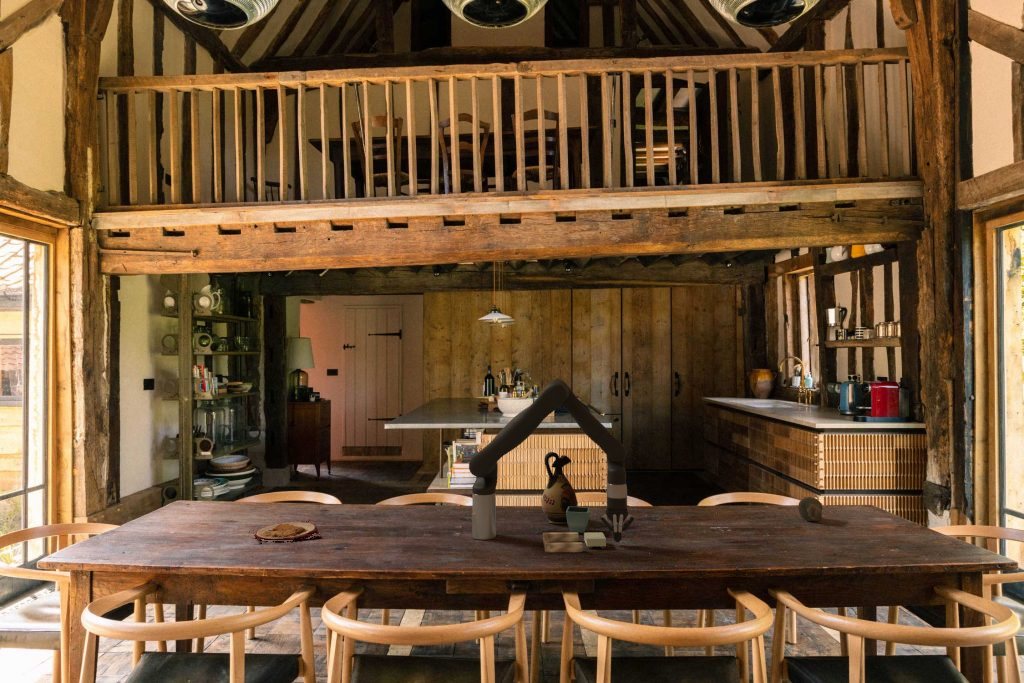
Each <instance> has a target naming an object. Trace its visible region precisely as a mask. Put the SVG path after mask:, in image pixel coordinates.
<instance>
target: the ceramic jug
mask: <svg viewBox="0 0 1024 683" xmlns="http://www.w3.org/2000/svg"><path fill="white" fill-rule="evenodd" d="M550 458H555V459H554V461H553V462H552V464H551V466H550ZM570 463H572V459H570V457H568V455H564V454H562V455H561V456H560V455H559V454H558V453H557V452H553V451H549V452H547V453H546V454H545V456H544V466H545V469H546V472H547V474H548V483H547V484H546V486H545V488H544V491H543V492H542V493H543V494H542V496H541V510H542V512H543V513H544V515H545V516H546V517H547V519H548V522H549V523H550V524H558V525H568V523H567V515H566V511H567V509H568V507H578V498H577V494H576V491H575V489H574V487H573V486H572V484H571V483H570V481H569V479H568V478H567V477H566V475H565V473H564V470H563V468H564V467H565V466H566V465H568V464H570ZM551 468H554V472H552V469H551Z"/></svg>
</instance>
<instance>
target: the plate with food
mask: <svg viewBox="0 0 1024 683" xmlns="http://www.w3.org/2000/svg"><path fill="white" fill-rule="evenodd" d="M305 521H306V522H305ZM305 521H291V522H289V521H288V522H284V523H283V522H280V523H274V524H270V525H268V526H265V527H263V528H259V529H260V530H258V529H257V530H256V531H255V532H256V534H255V535H254V534H253V536H255V537H257V538H255V539H256V540H257V541H260V539H264V540H294V539H298V538H299V539H301V540H304V539H306V538H308V537H310V536H313V535H312V534H314V533H316V534H319V535H320V536H315V537H313V538H312V539H316V538H320V537H321V536H322V534H321V533H320V532H319V530H318V528H317V525H316V524H315V523H308V522H309V521H310V522H311V520H309V519H308V522H307V520H305ZM304 522H305V523H304ZM268 530H272V532H269V531H268ZM265 531H268V532H266V533H264V532H265ZM263 533H264V534H263ZM297 534H300V535H297ZM273 537H278V538H273ZM279 537H281V538H279ZM285 537H287V538H285ZM303 538H304V539H303Z"/></svg>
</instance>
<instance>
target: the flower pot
mask: <svg viewBox="0 0 1024 683" xmlns="http://www.w3.org/2000/svg"><path fill="white" fill-rule="evenodd" d="M566 515H567V523H568V524H567V526H568V528H569V532H570V533H571V532H578V534H580V533H581V534H584V533H586V530H587V527H588V523H589V519H590V507H587V506H586V507H585V506H582V507H581V506H577V507H568V509H567V511H566Z"/></svg>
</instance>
